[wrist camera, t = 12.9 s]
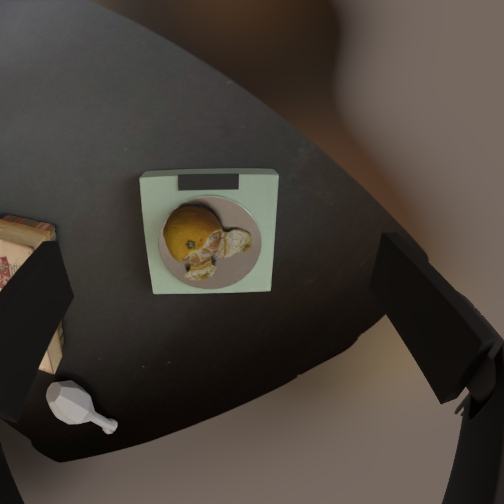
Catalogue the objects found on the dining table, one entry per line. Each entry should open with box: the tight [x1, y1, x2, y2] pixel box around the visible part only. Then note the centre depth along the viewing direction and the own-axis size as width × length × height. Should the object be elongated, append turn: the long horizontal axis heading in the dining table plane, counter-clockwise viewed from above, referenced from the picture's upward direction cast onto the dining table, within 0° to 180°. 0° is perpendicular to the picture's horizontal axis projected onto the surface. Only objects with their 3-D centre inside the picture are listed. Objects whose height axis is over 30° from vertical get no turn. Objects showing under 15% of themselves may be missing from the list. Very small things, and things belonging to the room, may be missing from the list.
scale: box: [139, 168, 279, 294], centre depth 34 cm, size 14×14×3 cm
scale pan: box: [158, 194, 262, 289], centre depth 32 cm, size 11×11×1 cm
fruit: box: [163, 205, 252, 281], centre depth 30 cm, size 8×8×4 cm
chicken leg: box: [46, 380, 117, 434], centre depth 46 cm, size 8×18×8 cm, turn 19°
